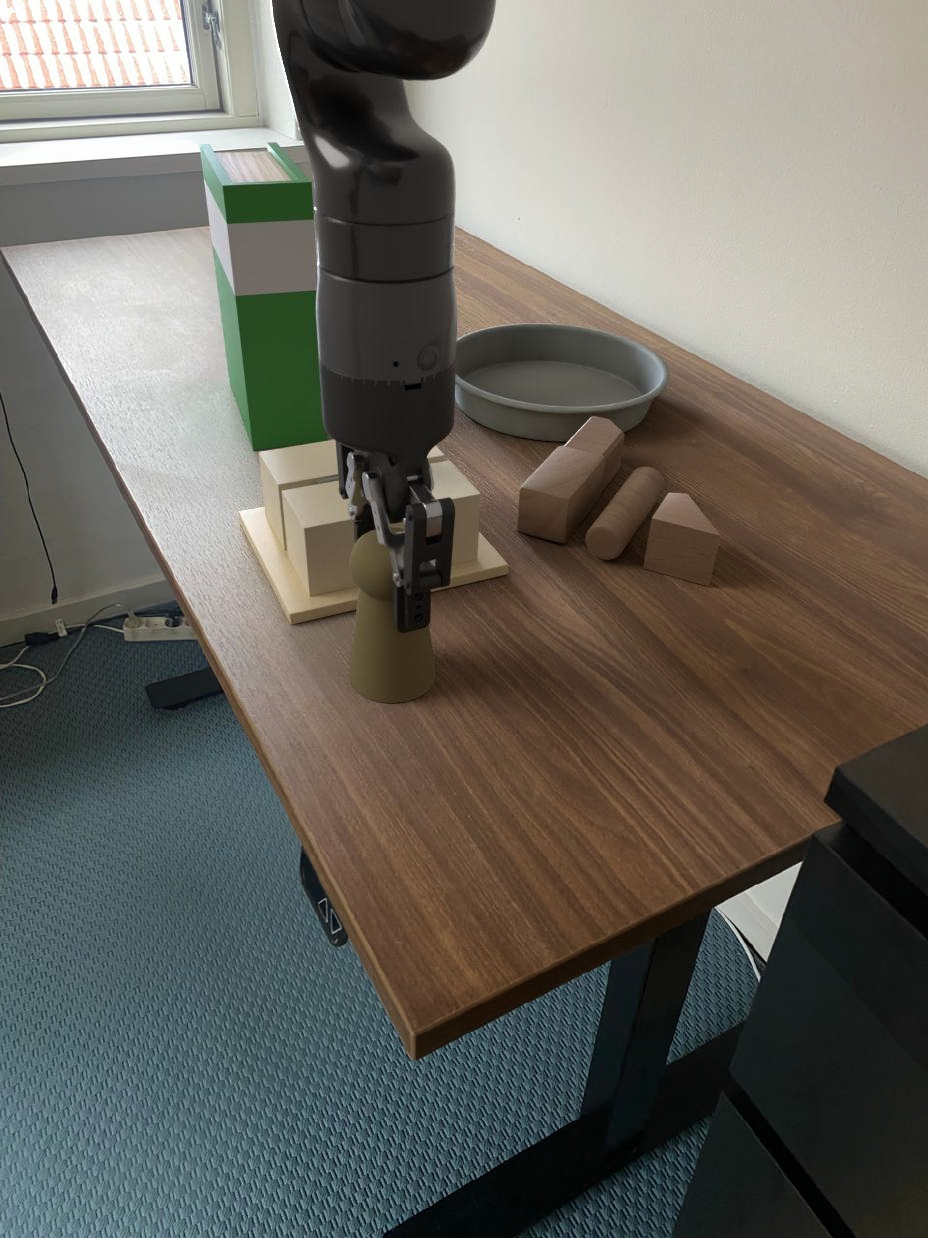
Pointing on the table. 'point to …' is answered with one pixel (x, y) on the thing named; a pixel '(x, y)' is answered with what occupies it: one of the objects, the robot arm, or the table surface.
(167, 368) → the table surface
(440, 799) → the table surface
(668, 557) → the wooden block set
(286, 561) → the slotted fixture
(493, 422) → the cake pan
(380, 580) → the chess pawn figurine
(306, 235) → the hardback book
